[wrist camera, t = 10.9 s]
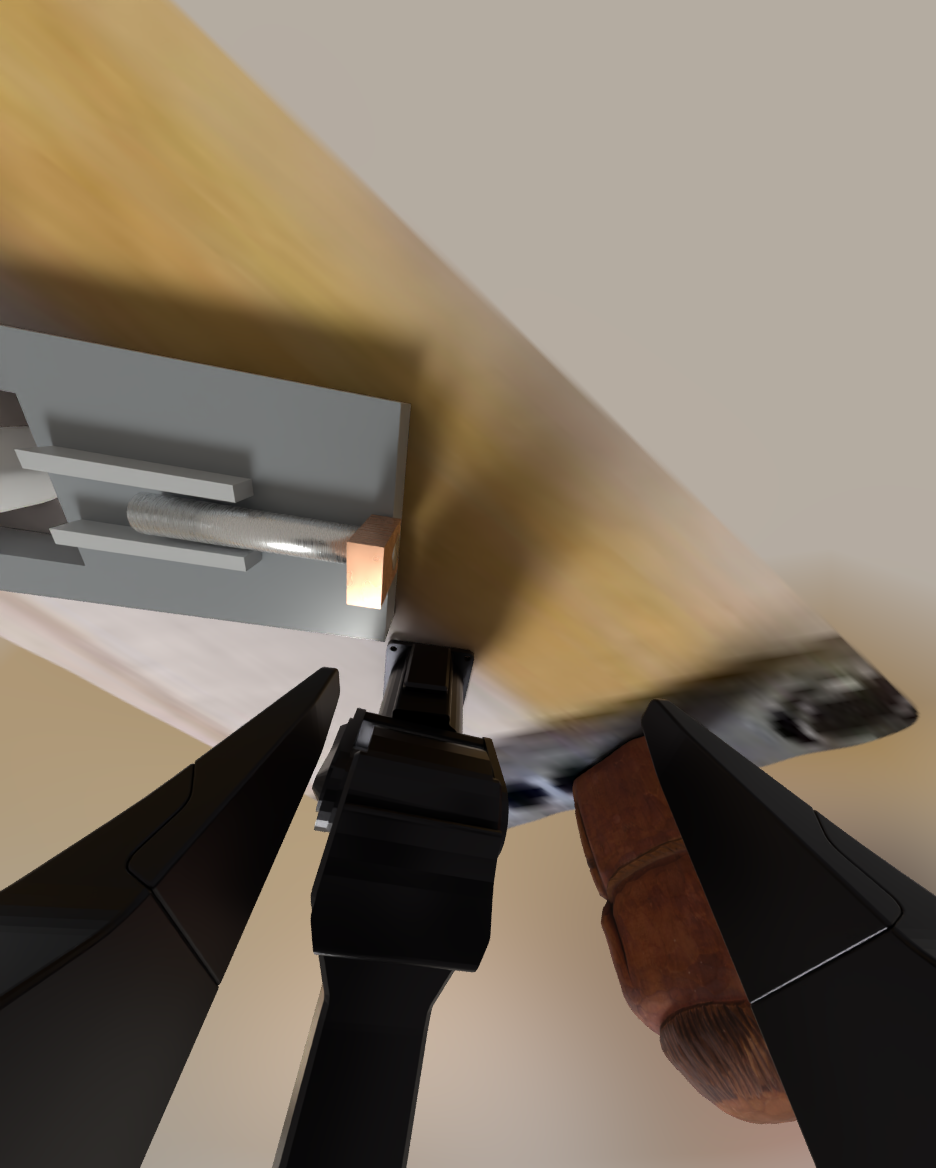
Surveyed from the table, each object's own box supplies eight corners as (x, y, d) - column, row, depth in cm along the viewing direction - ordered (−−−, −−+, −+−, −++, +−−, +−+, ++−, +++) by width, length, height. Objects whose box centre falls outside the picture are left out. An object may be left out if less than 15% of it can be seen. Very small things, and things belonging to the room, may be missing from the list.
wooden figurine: (602, 803, 35) (717, 1136, 19) (558, 782, 33) (644, 1129, 17) (699, 744, 30) (955, 1113, 14) (654, 715, 29) (889, 1101, 13)
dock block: (394, 615, 24) (379, 657, 20) (-29, 556, 21) (-142, 589, 17) (411, 403, 17) (394, 402, 13) (-182, 289, 15) (-412, 247, 11)
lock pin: (397, 569, 19) (380, 609, 15) (170, 535, 18) (93, 568, 14) (401, 518, 17) (384, 547, 14) (155, 477, 16) (65, 497, 13)
